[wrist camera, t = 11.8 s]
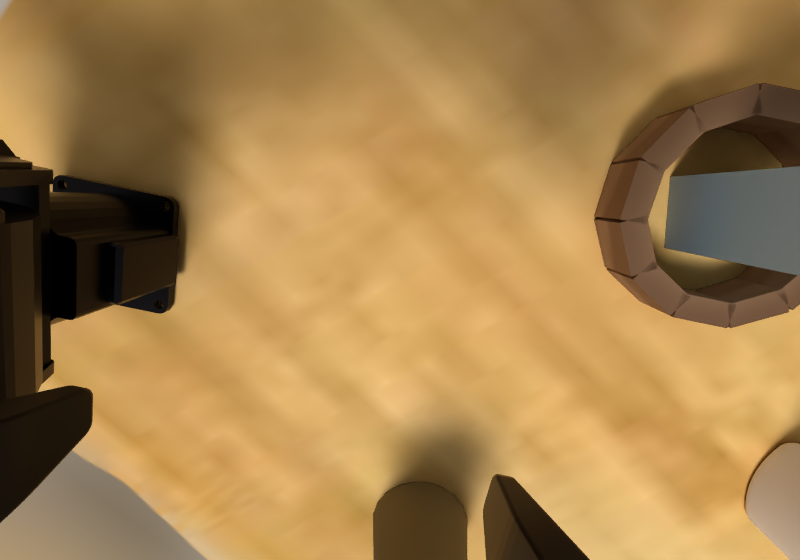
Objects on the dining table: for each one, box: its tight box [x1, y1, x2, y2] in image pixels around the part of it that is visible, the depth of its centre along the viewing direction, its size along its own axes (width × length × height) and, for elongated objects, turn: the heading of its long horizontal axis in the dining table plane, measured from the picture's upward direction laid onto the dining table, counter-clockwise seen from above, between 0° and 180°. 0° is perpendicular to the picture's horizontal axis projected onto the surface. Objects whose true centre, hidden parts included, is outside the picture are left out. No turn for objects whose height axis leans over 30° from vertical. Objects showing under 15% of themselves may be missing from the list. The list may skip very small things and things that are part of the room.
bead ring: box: [594, 83, 800, 328], centre depth 18 cm, size 10×10×2 cm
